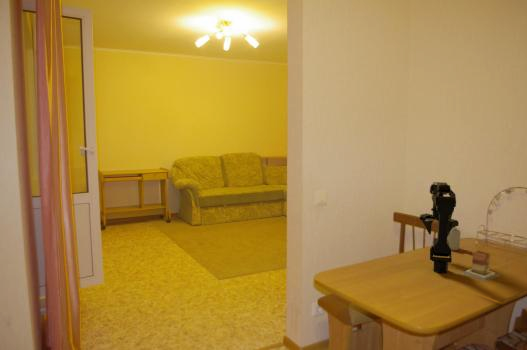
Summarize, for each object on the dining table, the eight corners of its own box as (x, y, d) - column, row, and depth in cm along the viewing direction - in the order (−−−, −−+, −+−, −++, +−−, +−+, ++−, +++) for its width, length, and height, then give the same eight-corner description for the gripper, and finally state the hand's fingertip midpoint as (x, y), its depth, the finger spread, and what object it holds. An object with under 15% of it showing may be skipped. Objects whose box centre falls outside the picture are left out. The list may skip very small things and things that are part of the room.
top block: (482, 266, 175) (483, 255, 174) (472, 262, 179) (472, 252, 178) (489, 263, 177) (489, 253, 176) (478, 260, 181) (479, 250, 181)
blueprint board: (485, 283, 171) (485, 279, 170) (460, 274, 181) (460, 270, 181) (500, 277, 177) (500, 273, 176) (475, 269, 187) (475, 265, 187)
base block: (482, 276, 175) (483, 266, 175) (471, 273, 180) (472, 262, 179) (488, 274, 178) (489, 264, 177) (478, 270, 182) (478, 260, 181)
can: (462, 250, 213) (463, 229, 211) (448, 251, 213) (449, 230, 211) (455, 246, 220) (456, 226, 218) (442, 246, 220) (443, 226, 219)
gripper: (465, 207, 193) (464, 238, 195) (432, 201, 208) (431, 229, 211) (452, 211, 187) (450, 242, 189) (419, 204, 203) (418, 233, 205)
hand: (437, 236), depth 199 cm, fingers open, 9 cm apart
